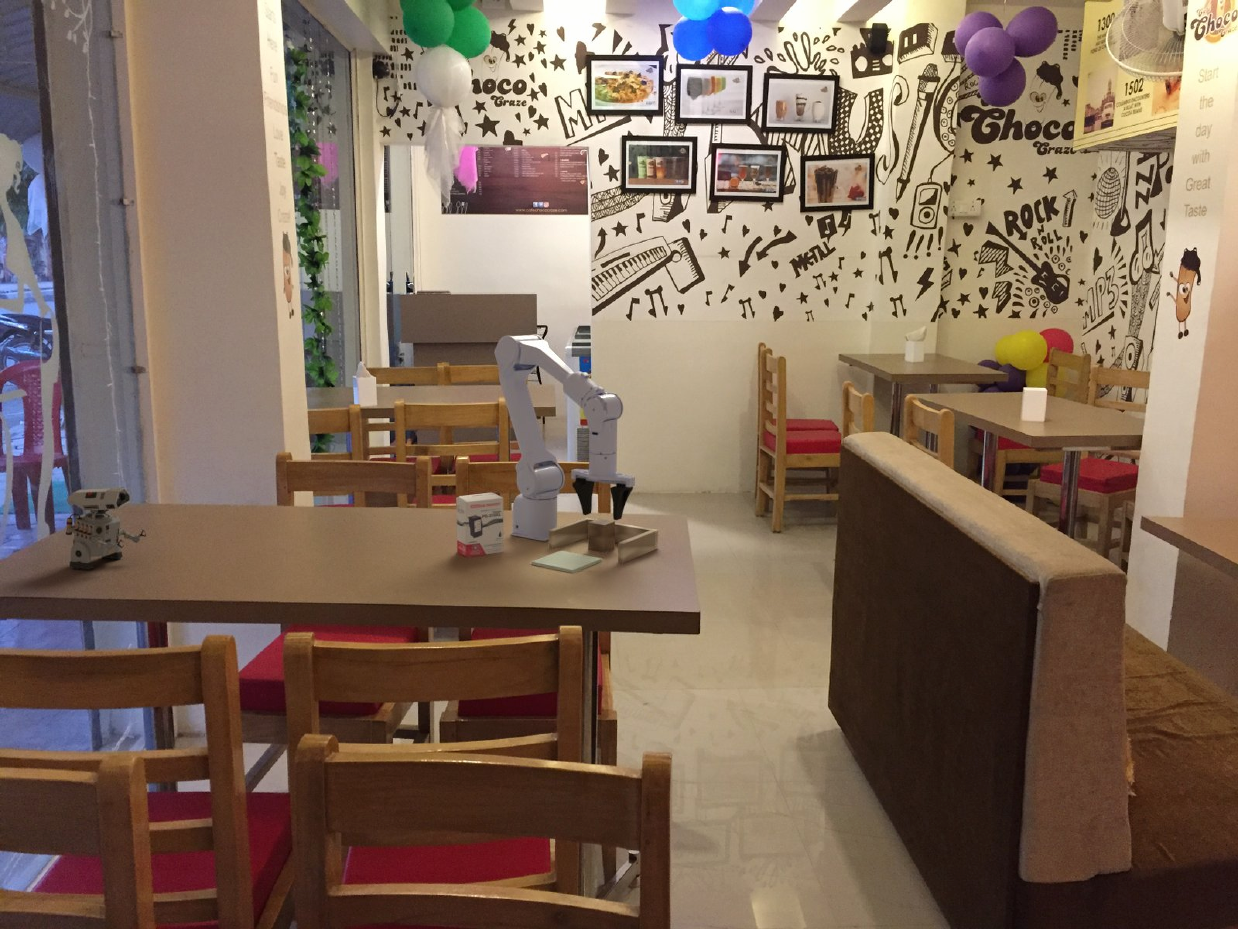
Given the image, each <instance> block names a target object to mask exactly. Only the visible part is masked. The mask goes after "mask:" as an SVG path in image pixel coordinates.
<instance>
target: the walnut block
mask: <svg viewBox="0 0 1238 929" xmlns="http://www.w3.org/2000/svg"><path fill="white" fill-rule="evenodd" d="M615 523H616V520H609V519H603V518H597V520H594V521H591V522H589V523H588V537H587V539H588V540H587V541H588V542H587V544H588V545H587V550H588V551H591V552H596V553H597V552H598V553H601V554H606V553H608V552H611V551H614V550H615V548H616V547H615V546H616V545H615V544H616V542H615Z"/></svg>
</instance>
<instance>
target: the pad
mask: <svg viewBox="0 0 1238 929" xmlns="http://www.w3.org/2000/svg"><path fill="white" fill-rule="evenodd" d="M602 560H603V558H602V557H597V556H591V555H585V554H582V553H576V552H575V553H574V552H571V551H567V550H566V551H565V550H560V551H559V550H558V551H556V552H553V553H550V554H548V555H545V556H542V557H541V558H537V559H535V560H532V561H531V566H532V565H534V566H538V567H542V568H546V569H552V570H557V571H562V572H566V573H571V574H575V573H577V572H579V571H581V570H584V569H586V568H589V567H591V566H593V565H597V564H599V563H601V562H602Z"/></svg>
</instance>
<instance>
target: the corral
mask: <svg viewBox="0 0 1238 929" xmlns="http://www.w3.org/2000/svg"><path fill="white" fill-rule="evenodd" d="M597 519H598V518H597ZM597 519H596V518H591V517H583V518H581V519H578V520H574V521H571V522H569V523H566V524H563V525H560V526H557V528H554V529H551V530H549V540H548V549H549V550H556V549H558V548H562V547H565V546H567V545H569V544H572V543H576V542H578V541H581V540H583V539H586V538H588V523H589V522H591V521H594V520H597ZM616 543H617V546H618V547H617V563H620V564H624V563H626V562H629V561H632V560H635V558H638V557H641V556H643V555H645V554H648V553H651V552H652V551H654V550H657V549H658V548H659V529H655V528H654V529H653V528H648V527H643V526H639V525H638V526H636V525H632V524H625V523H621V522H620V523H619V522H615V544H616Z"/></svg>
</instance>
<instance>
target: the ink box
mask: <svg viewBox="0 0 1238 929" xmlns="http://www.w3.org/2000/svg"><path fill="white" fill-rule="evenodd" d="M455 500H456V505H455V506H456V544H457V545H456V551H457V553H458V554H460V555H462V556H464V557H465V558H471V557H477V556H486V555H491V554H498V553H503V552H504V497H503V496H500V495H498V494H496V493H494V492H485V493H478V494H477V493H475V494H469V495H459V496H458V497H456V499H455Z"/></svg>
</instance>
